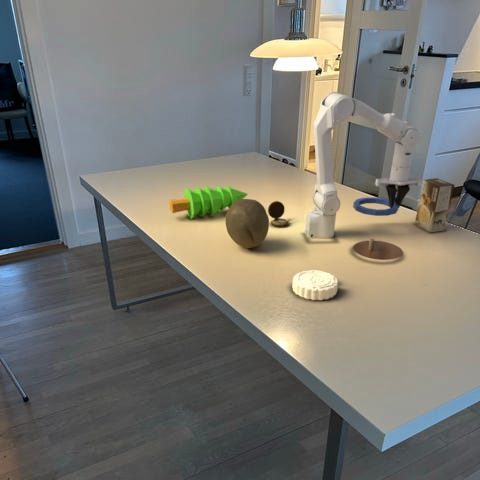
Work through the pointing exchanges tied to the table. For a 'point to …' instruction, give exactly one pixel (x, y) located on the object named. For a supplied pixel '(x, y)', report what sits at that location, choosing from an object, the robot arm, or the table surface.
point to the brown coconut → (247, 223)
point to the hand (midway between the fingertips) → (393, 207)
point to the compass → (277, 214)
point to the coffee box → (434, 204)
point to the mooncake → (315, 285)
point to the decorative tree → (206, 201)
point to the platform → (377, 250)
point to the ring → (375, 212)
